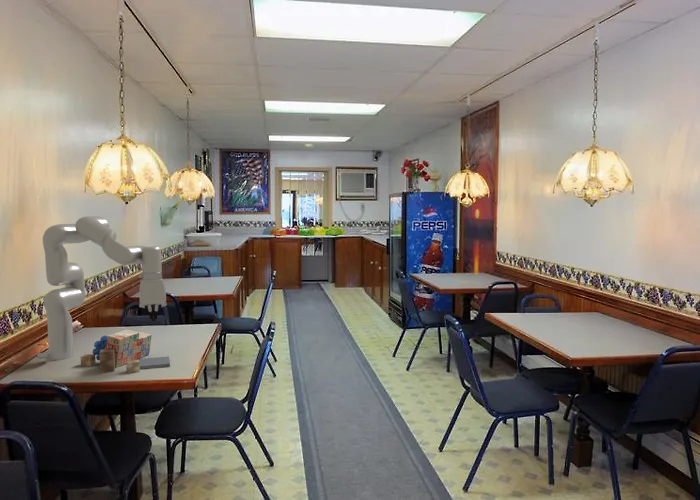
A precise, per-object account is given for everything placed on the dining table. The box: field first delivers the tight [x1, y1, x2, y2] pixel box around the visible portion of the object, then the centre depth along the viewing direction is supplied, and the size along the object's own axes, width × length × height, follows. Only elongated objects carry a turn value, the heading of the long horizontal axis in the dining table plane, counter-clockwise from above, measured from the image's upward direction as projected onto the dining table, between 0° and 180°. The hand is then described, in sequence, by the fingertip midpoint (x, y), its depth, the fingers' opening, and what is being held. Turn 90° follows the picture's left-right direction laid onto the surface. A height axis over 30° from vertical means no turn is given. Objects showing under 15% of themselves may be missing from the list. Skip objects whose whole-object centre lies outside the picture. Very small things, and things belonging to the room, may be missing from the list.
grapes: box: [92, 335, 108, 361], centre depth 228 cm, size 12×7×12 cm, turn 102°
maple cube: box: [125, 359, 141, 374], centre depth 215 cm, size 4×4×4 cm
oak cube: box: [80, 353, 96, 367], centre depth 224 cm, size 4×4×4 cm
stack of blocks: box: [106, 329, 152, 368], centre depth 230 cm, size 21×6×12 cm, turn 164°
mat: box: [138, 355, 171, 370], centre depth 225 cm, size 12×12×1 cm
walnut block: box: [99, 348, 116, 373], centre depth 217 cm, size 5×5×8 cm
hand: (153, 320), depth 224 cm, fingers closed
